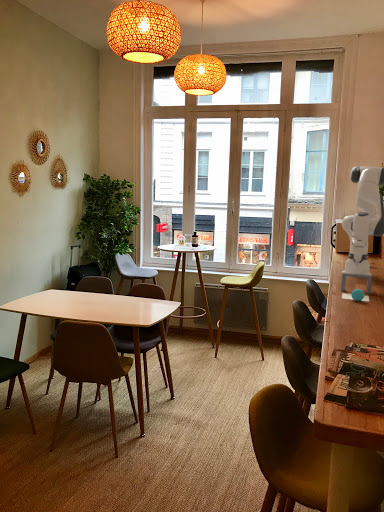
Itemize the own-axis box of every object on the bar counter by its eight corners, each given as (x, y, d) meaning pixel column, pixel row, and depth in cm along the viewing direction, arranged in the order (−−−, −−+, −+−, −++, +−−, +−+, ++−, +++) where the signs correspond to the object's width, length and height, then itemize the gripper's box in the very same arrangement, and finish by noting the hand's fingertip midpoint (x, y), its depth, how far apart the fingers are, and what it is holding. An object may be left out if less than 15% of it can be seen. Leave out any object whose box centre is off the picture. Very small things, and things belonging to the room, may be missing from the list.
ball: (350, 300, 232) (351, 288, 233) (363, 301, 230) (364, 289, 231) (350, 300, 226) (351, 287, 227) (363, 301, 224) (364, 289, 225)
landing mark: (342, 293, 244) (342, 293, 244) (368, 296, 240) (368, 295, 240) (341, 298, 232) (341, 298, 232) (369, 301, 228) (369, 301, 228)
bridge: (341, 290, 253) (342, 272, 252) (370, 293, 248) (372, 275, 247) (340, 291, 250) (342, 273, 249) (370, 294, 245) (372, 276, 244)
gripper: (353, 238, 269) (351, 262, 271) (352, 243, 250) (350, 268, 252) (365, 239, 266) (362, 263, 269) (365, 244, 248) (362, 269, 250)
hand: (356, 265), depth 260 cm, fingers closed
